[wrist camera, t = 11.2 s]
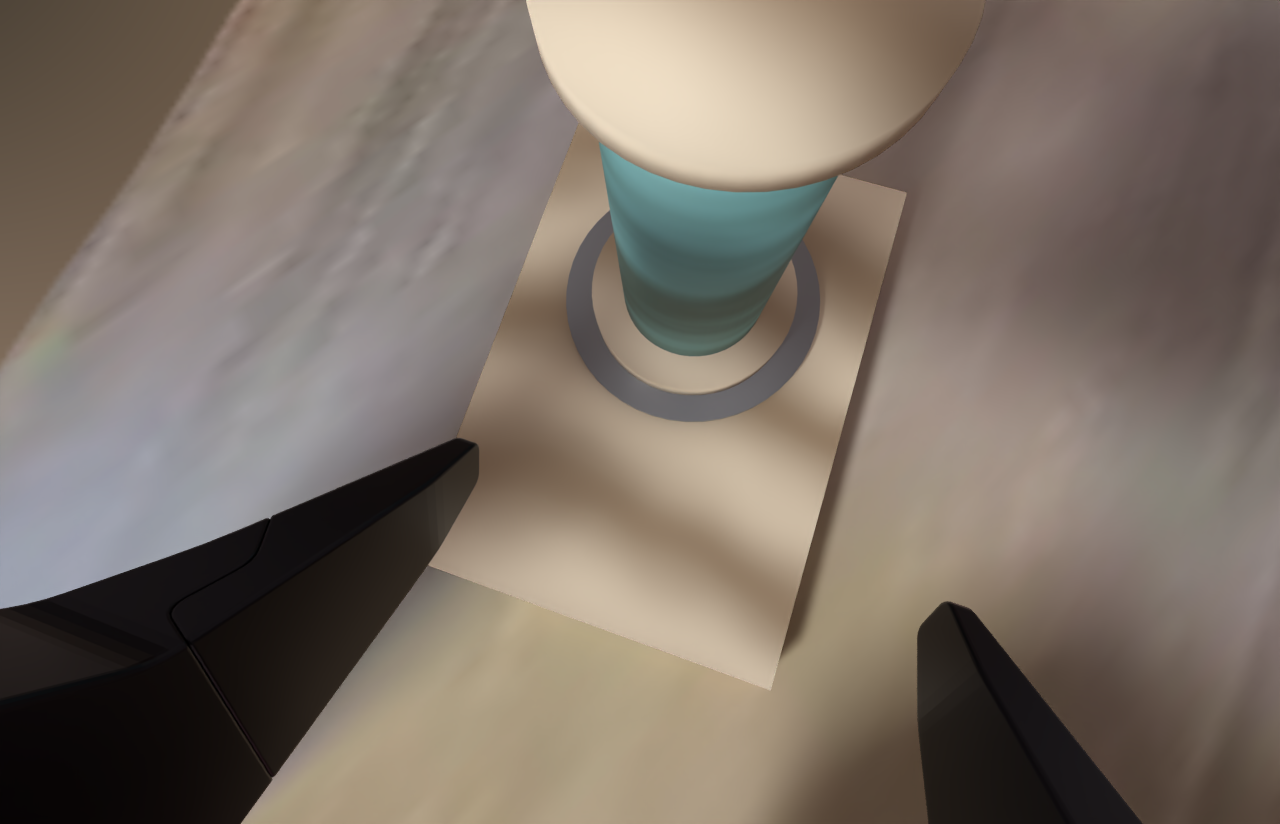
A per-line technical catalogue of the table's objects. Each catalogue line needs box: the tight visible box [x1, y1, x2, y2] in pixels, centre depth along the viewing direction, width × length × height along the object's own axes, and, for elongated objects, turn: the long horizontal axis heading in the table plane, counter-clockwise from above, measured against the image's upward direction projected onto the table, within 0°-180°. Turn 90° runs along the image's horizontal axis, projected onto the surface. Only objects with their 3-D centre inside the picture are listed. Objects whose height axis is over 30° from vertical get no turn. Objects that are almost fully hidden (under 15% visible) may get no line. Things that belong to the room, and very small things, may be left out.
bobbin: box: [526, 0, 986, 395], centre depth 14 cm, size 8×8×13 cm
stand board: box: [428, 123, 907, 691], centre depth 21 cm, size 20×14×2 cm
